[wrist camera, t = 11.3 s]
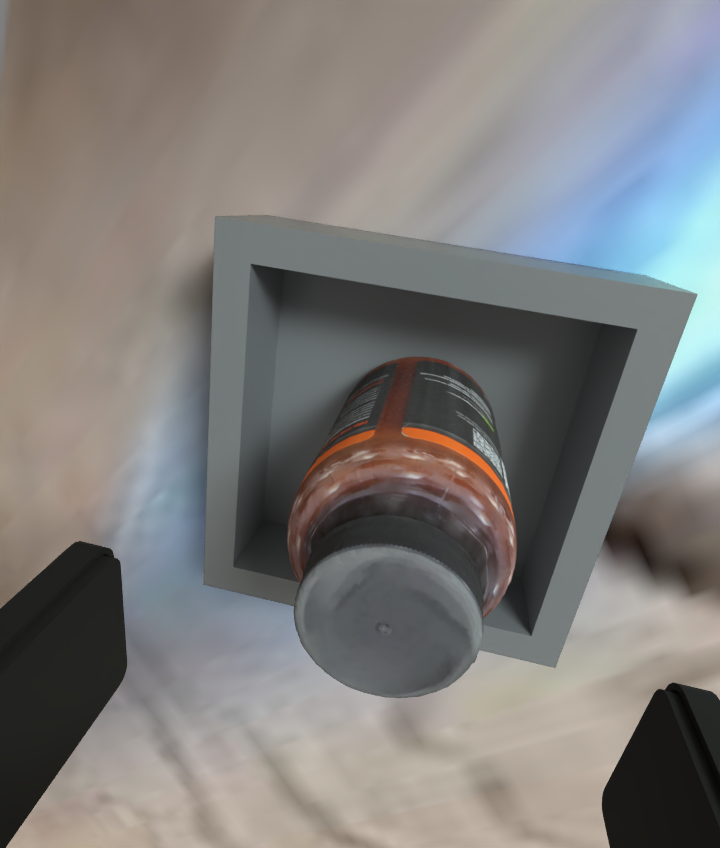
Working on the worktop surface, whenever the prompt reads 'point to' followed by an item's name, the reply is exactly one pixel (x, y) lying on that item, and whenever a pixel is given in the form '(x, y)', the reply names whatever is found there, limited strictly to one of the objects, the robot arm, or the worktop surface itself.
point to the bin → (446, 340)
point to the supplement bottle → (403, 532)
